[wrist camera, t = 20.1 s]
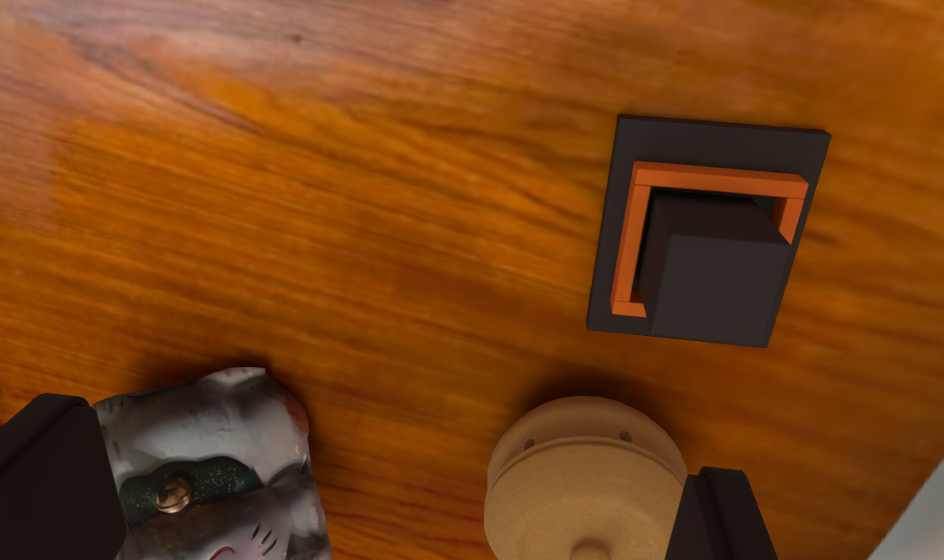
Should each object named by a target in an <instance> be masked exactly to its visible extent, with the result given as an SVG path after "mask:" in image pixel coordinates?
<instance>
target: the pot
mask: <svg viewBox="0 0 944 560" xmlns="http://www.w3.org/2000/svg"><path fill="white" fill-rule="evenodd" d="M687 476H688V475H687V468H686V464H685V462H684V460H683V458H682V455H681V453H680V451H679V449H678V447H677V445H676V444H675V443H674V442H673V440H672V439H671V438H670V437H669V435H668V434H667V433H666V432H665V431H664V429H663V428H662V427H660V426H659V425H658V424H657V423H655V422H654V421H653V420H651V419H650V418H649V417H647V416H646V415H645V414H643V413H642V412H640V411H639V410H636V409H634V408H632V407H630V406H628V405H625V404H623V403H621V402H619V401H615V400H611V399H607V398H603V397H595V396H572V397H564V398H559V399H556V400H553V401H550V402H547V403H544V404H542V405H540V406H538V407H537V408H535V409H533V410H531V411H530V412H528V413H526V414H524V415H523V416H522V417H521V418H520V419H518V420H517V421H516V422H515V423H514V424H513V425H512V426H511V427H510V428H509V429H507V430H506V432H505V433H504V434H503V436H502V437H501V439H500V440H499V442H498V443H497V445H496V446H495V448H494V450H493V452H492V455H491V458H490V462H489V465H488V469H487V488H488V491H487V494H486V498H485V501H484V529H485V533H486V536H487V539H488V543H489V545H490V547H491V549H492V550H493V552H494V553H495V555H496V557H497V558H498V560H664V559H665V555H666V552H667V548H668V544H669V540H670V537H671V533H672V529H673V525H674V522H675V518H676V514H677V511H678V507H679V503H680V499H681V496H682V492H683V488H684V484H685V481H686V478H687Z"/></svg>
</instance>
